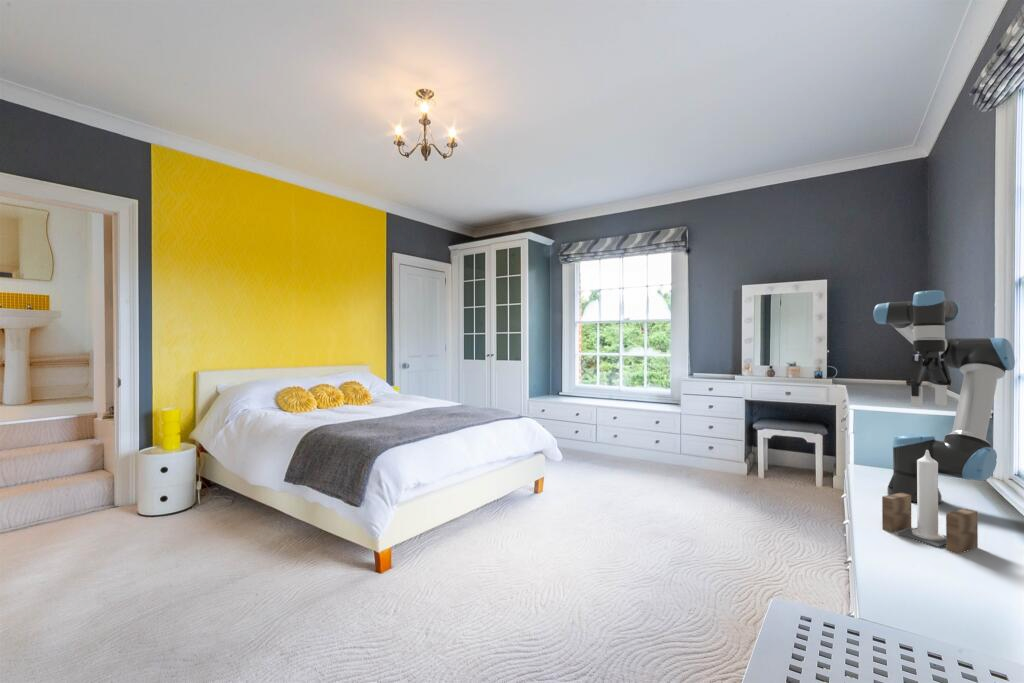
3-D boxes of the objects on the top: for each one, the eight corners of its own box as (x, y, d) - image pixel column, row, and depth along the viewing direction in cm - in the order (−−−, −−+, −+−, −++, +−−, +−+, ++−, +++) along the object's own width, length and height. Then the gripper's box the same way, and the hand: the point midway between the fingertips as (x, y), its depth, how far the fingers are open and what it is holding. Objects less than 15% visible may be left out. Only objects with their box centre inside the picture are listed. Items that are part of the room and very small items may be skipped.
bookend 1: (901, 524, 145) (901, 492, 145) (911, 527, 142) (911, 494, 143) (882, 529, 141) (882, 496, 141) (891, 532, 138) (891, 498, 139)
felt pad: (918, 528, 141) (918, 527, 141) (960, 541, 132) (960, 539, 132) (896, 534, 137) (896, 532, 137) (938, 547, 128) (938, 546, 128)
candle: (950, 542, 130) (950, 453, 131) (921, 539, 132) (921, 451, 132) (933, 532, 137) (933, 447, 138) (906, 530, 139) (905, 446, 139)
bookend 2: (966, 544, 130) (965, 508, 131) (977, 547, 128) (977, 511, 128) (946, 550, 127) (946, 513, 127) (958, 553, 124) (957, 516, 124)
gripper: (936, 340, 156) (936, 403, 156) (891, 339, 146) (892, 406, 146) (964, 339, 149) (965, 405, 149) (920, 338, 140) (920, 409, 139)
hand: (929, 406), depth 148 cm, fingers open, 13 cm apart
